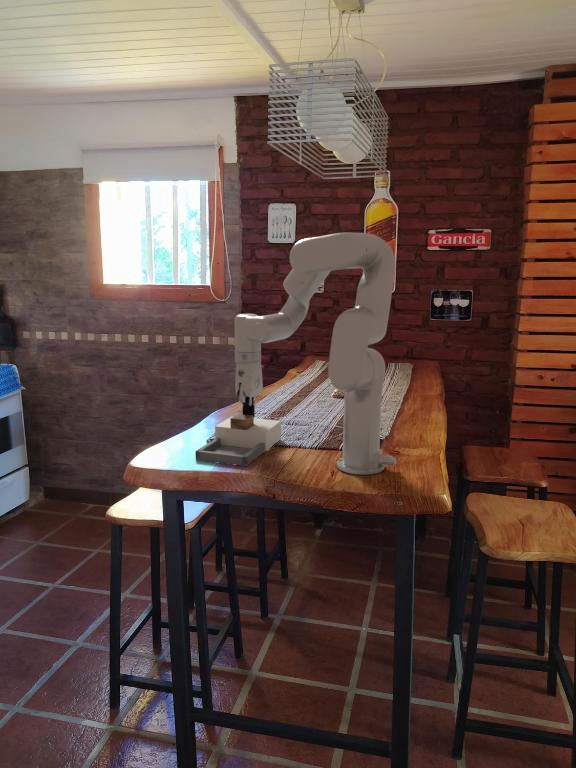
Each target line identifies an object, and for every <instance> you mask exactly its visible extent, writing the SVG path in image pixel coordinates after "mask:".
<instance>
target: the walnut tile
mask: <svg viewBox="0 0 576 768" xmlns="http://www.w3.org/2000/svg"><path fill="white" fill-rule="evenodd" d="M233 416H234V417H232V416H231V417H232V418H230V417H229V418H230V421H231V428H232V429H241V430H247V429H249V428H250V427H252V426H254V418H255V417H254V416H253V415H243V413H237V414H236V415H233Z"/></svg>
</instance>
